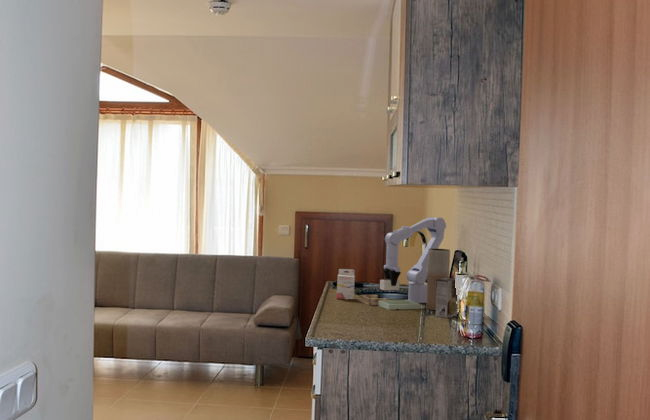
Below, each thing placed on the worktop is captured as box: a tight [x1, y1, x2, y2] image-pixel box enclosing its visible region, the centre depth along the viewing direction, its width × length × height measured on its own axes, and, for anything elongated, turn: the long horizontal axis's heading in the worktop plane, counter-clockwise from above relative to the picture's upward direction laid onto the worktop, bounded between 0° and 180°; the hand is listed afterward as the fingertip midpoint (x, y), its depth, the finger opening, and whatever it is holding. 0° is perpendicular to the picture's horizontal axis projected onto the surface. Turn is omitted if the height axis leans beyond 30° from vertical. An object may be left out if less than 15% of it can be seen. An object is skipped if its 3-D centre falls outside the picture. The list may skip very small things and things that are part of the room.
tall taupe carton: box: [425, 248, 451, 311], centre depth 292 cm, size 10×10×28 cm
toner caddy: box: [379, 278, 400, 291], centre depth 308 cm, size 8×5×5 cm, turn 109°
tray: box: [377, 299, 422, 311], centre depth 294 cm, size 16×12×2 cm
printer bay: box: [358, 294, 389, 306], centre depth 305 cm, size 10×13×3 cm
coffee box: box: [434, 277, 457, 319], centre depth 274 cm, size 9×6×16 cm
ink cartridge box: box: [336, 268, 356, 300], centre depth 316 cm, size 9×5×15 cm, turn 84°
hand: (391, 285), depth 308 cm, fingers closed on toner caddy, 5 cm apart
